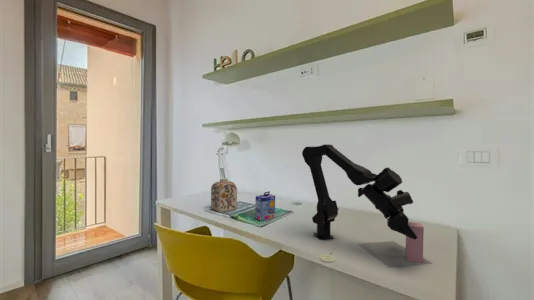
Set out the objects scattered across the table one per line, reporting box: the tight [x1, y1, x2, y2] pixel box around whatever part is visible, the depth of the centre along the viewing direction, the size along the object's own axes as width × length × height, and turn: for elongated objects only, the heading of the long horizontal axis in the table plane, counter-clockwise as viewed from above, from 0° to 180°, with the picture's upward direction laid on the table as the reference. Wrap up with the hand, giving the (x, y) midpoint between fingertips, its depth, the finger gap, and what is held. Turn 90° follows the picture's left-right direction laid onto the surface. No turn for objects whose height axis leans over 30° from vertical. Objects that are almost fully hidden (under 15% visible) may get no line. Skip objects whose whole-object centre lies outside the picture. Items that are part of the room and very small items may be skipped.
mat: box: [357, 240, 432, 268], centre depth 91 cm, size 19×16×1 cm
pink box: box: [405, 221, 425, 263], centre depth 85 cm, size 5×4×12 cm
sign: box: [319, 247, 336, 264], centre depth 91 cm, size 5×1×15 cm
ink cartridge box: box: [254, 191, 276, 222], centre depth 132 cm, size 10×6×14 cm, turn 132°
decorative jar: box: [210, 178, 238, 213], centre depth 150 cm, size 12×12×18 cm
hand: (413, 233), depth 85 cm, fingers open, 9 cm apart
